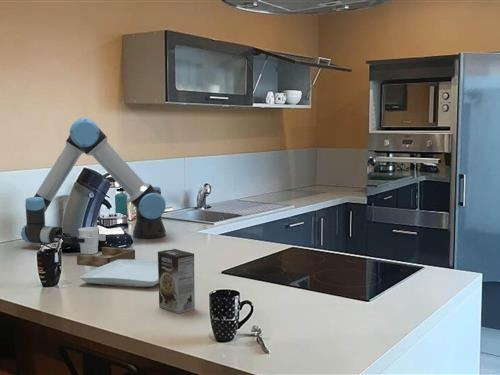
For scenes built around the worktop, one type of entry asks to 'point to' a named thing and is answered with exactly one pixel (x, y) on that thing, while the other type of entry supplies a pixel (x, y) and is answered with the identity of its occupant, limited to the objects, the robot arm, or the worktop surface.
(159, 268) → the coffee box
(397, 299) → the worktop surface
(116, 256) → the caddy
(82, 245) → the white cup
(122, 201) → the green pump bottle
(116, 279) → the square plate
